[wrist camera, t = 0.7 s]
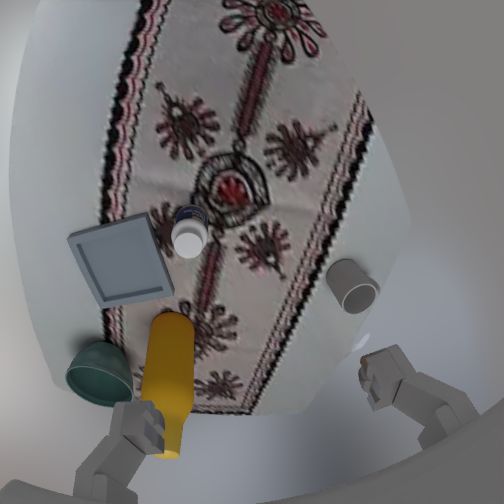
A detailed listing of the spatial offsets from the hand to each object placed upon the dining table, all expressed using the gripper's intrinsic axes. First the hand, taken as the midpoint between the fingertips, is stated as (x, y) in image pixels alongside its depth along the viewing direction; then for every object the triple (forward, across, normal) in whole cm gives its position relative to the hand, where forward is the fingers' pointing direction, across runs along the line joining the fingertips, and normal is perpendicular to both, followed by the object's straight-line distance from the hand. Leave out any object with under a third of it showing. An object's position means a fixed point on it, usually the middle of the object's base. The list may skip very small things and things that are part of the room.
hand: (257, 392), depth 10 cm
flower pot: (+40, +36, +35) cm, 65 cm away
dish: (+40, +21, +12) cm, 47 cm away
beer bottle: (+40, +17, +30) cm, 53 cm away
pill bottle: (+40, +6, +7) cm, 41 cm away
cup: (+40, -21, +26) cm, 52 cm away
